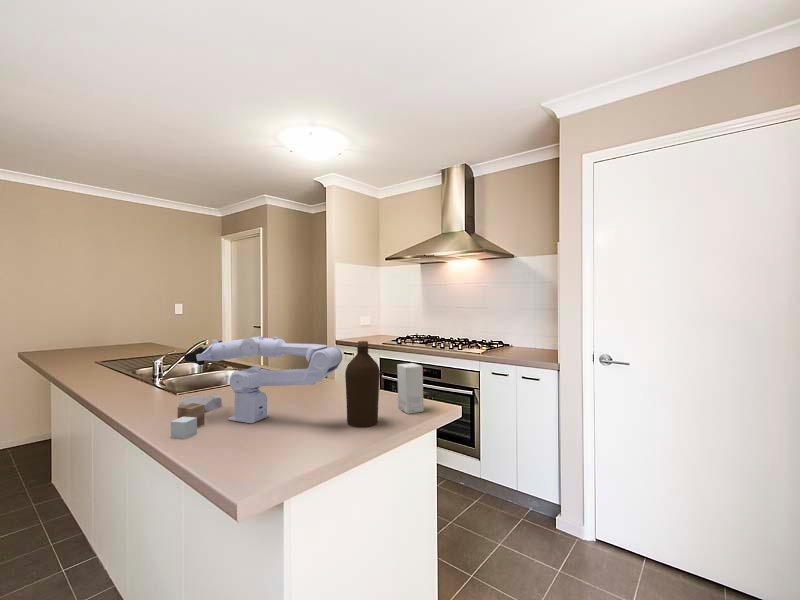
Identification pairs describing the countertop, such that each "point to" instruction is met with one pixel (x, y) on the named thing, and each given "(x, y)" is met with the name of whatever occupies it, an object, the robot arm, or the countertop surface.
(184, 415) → the walnut block
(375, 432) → the countertop surface
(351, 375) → the olive oil
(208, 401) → the stone block
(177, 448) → the countertop surface
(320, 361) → the robot arm
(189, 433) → the blue-grey block
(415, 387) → the skincare box
